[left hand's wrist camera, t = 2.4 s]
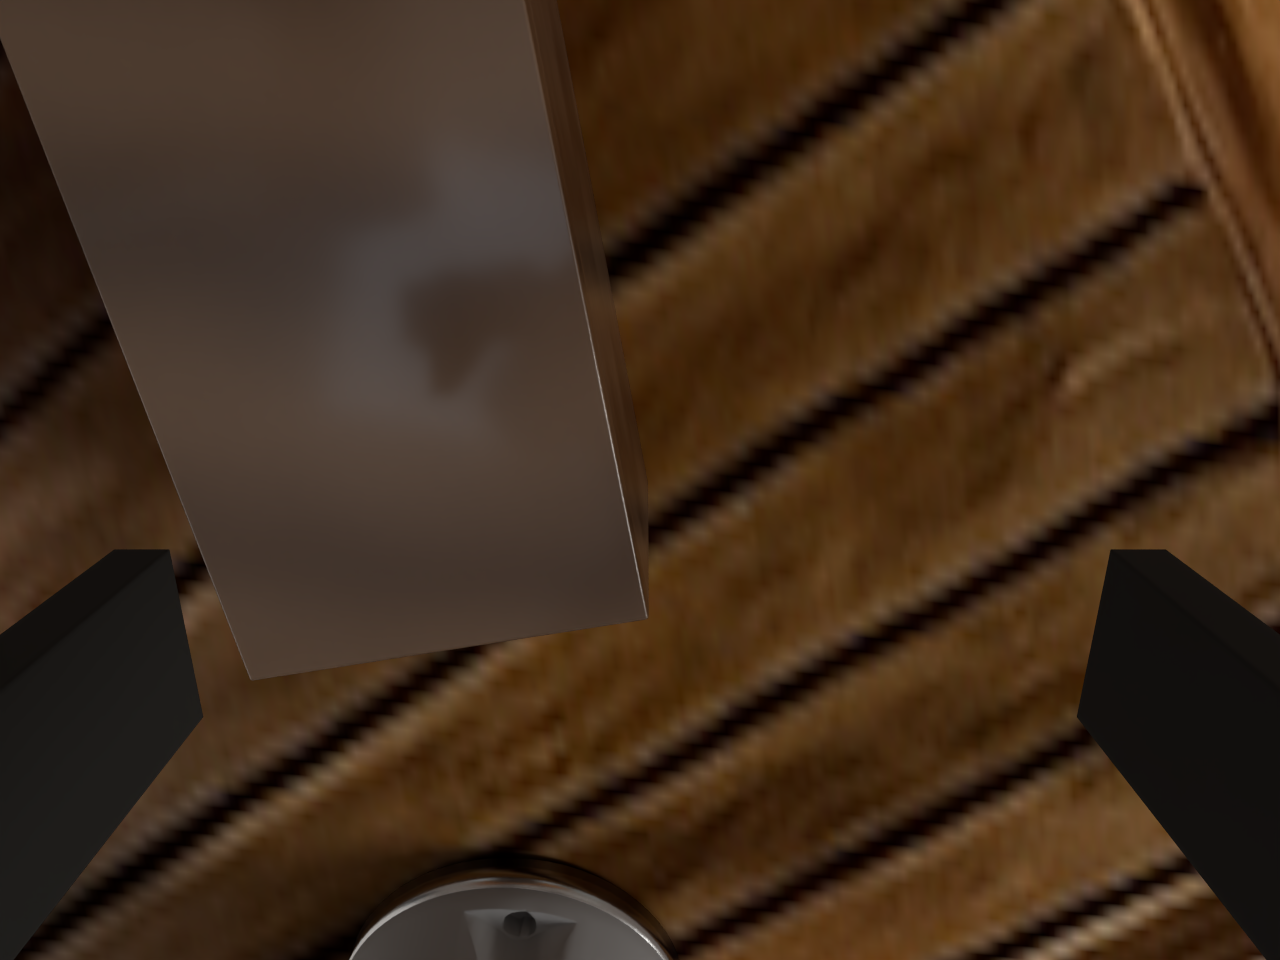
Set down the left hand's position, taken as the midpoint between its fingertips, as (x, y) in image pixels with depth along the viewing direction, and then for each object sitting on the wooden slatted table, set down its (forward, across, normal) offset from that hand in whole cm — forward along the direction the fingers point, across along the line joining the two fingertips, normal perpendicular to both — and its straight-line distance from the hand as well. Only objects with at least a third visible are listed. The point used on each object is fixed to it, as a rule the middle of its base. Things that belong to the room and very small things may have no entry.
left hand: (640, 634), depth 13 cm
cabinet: (+19, +7, -5) cm, 21 cm away
